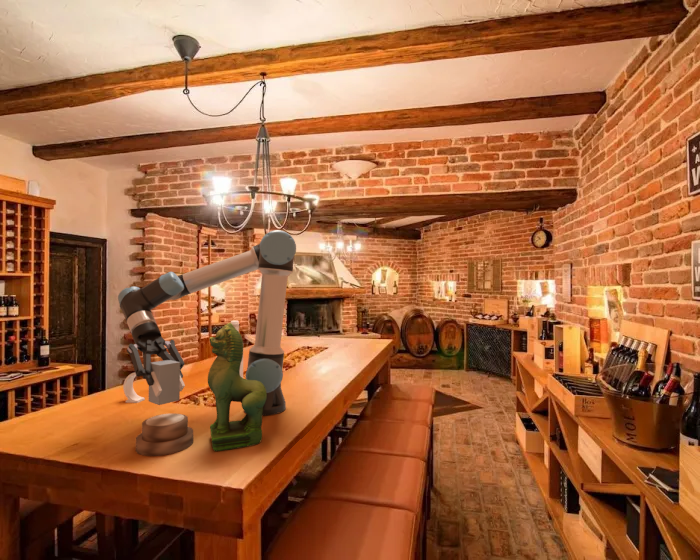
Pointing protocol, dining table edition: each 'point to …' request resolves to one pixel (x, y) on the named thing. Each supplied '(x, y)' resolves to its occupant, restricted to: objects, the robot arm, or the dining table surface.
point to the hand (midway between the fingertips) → (170, 390)
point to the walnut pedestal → (164, 435)
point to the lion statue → (234, 394)
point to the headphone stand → (131, 390)
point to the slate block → (166, 381)
